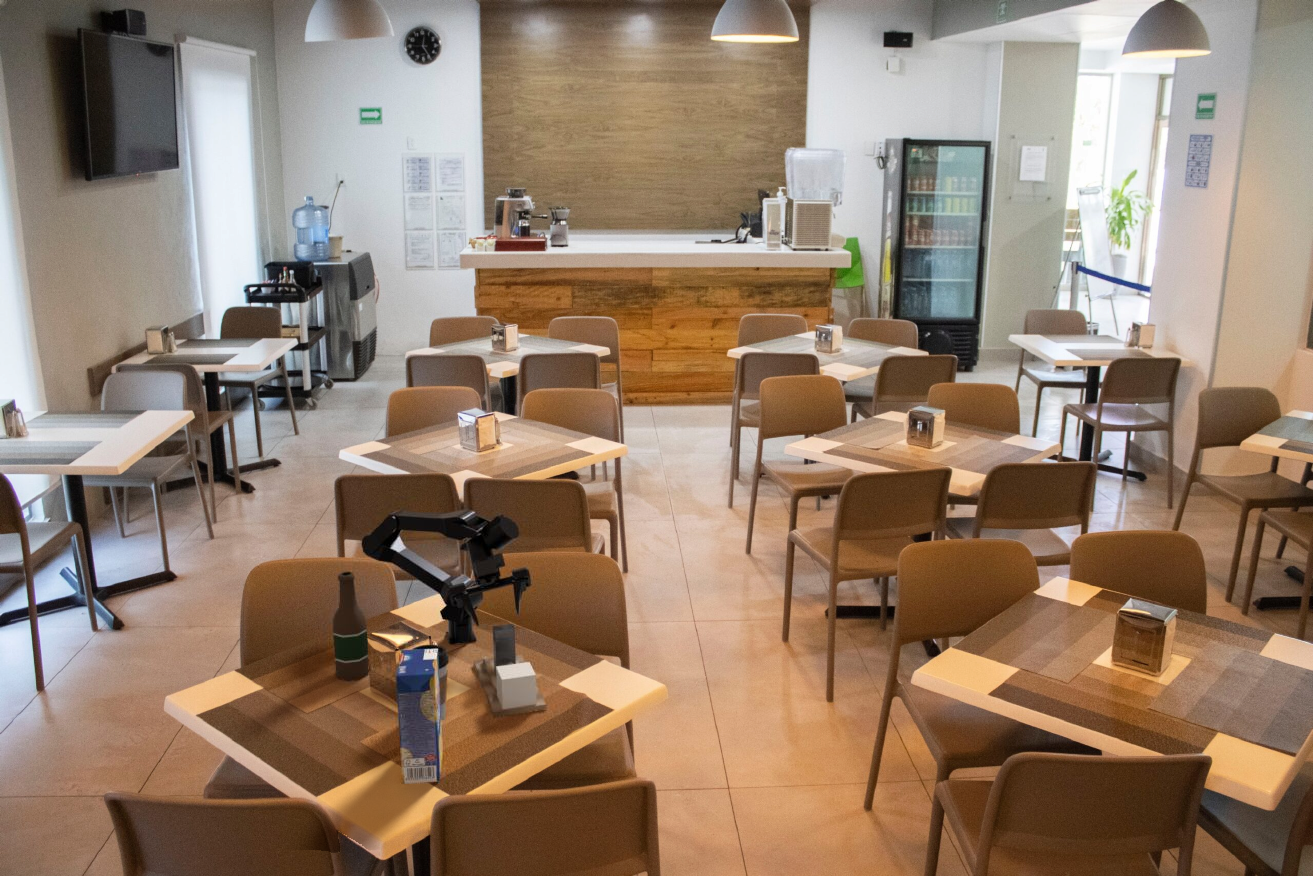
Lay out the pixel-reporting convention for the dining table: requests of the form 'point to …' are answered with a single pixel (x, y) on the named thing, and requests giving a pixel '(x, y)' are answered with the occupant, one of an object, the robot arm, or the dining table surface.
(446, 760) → the dining table surface
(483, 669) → the rail
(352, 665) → the beer bottle
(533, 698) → the socket
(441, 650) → the coffee cup
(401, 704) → the beverage box
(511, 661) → the dark grey rectangular block
